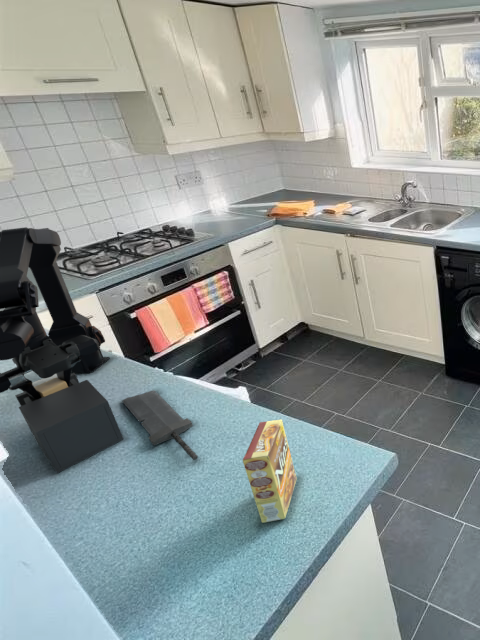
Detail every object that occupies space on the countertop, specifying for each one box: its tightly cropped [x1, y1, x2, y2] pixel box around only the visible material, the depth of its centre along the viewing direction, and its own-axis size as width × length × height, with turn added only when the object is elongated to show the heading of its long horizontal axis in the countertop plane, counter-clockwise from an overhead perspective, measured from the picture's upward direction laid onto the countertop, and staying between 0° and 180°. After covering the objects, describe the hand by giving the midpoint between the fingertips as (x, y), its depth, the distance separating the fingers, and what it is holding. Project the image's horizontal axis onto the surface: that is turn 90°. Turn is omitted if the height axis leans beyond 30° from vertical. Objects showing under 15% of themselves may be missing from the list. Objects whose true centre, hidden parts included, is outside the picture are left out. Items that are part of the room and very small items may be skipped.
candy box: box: [242, 419, 298, 524], centre depth 77 cm, size 9×4×15 cm, turn 13°
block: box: [34, 377, 68, 398], centre depth 93 cm, size 4×4×4 cm
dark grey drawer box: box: [18, 379, 125, 474], centre depth 90 cm, size 13×11×11 cm
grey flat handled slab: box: [121, 390, 199, 461], centre depth 96 cm, size 7×35×2 cm, turn 55°
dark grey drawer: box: [15, 373, 80, 407], centre depth 95 cm, size 16×9×9 cm, turn 57°
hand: (54, 395), depth 93 cm, fingers closed on block, 4 cm apart
